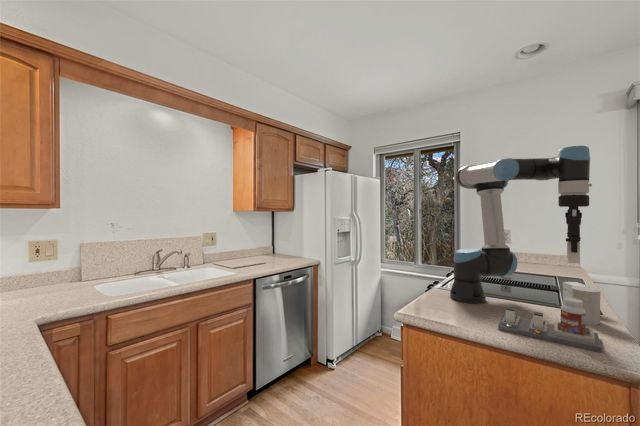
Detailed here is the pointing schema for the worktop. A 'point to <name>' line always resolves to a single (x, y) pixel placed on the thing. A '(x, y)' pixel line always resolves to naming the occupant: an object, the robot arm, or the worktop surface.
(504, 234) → the robot arm
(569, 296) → the small box
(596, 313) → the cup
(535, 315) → the toggle
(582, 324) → the pill bottle
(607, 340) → the worktop surface
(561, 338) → the panel
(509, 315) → the toggle
